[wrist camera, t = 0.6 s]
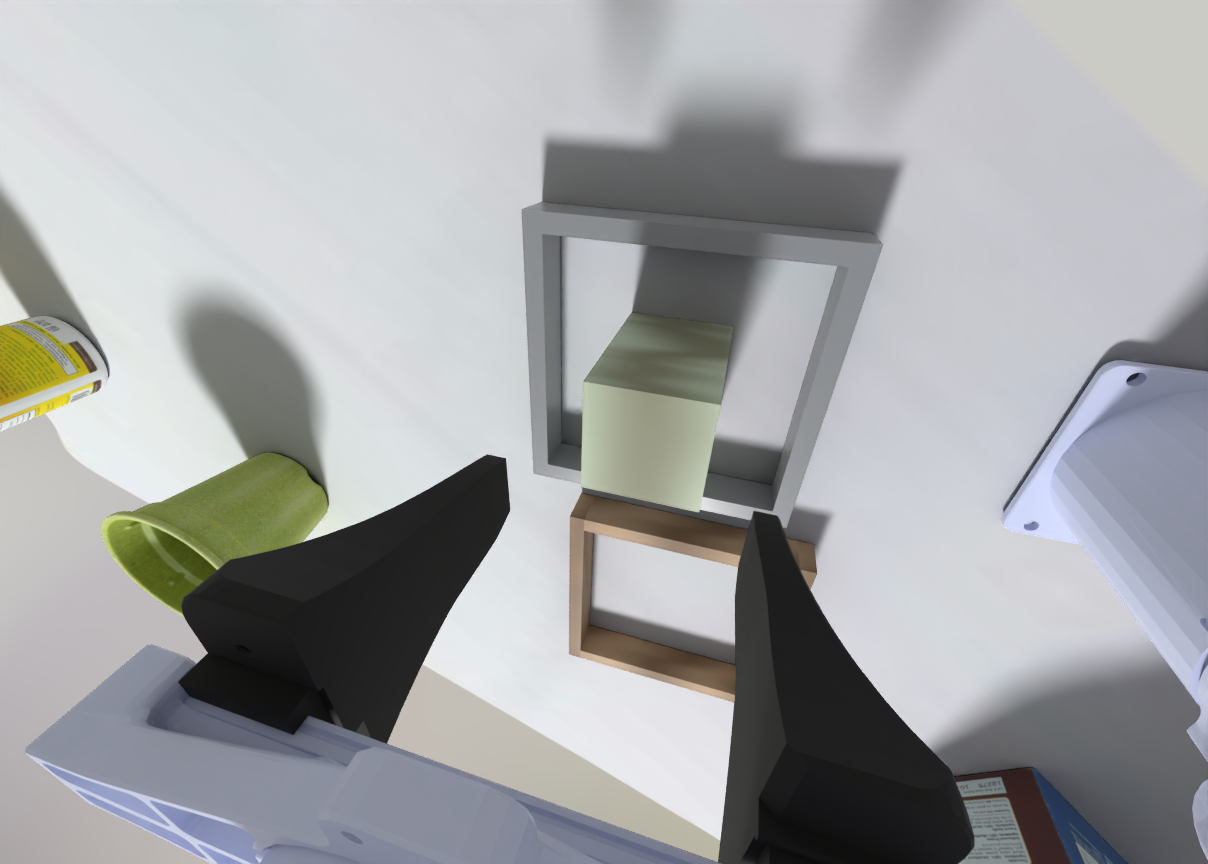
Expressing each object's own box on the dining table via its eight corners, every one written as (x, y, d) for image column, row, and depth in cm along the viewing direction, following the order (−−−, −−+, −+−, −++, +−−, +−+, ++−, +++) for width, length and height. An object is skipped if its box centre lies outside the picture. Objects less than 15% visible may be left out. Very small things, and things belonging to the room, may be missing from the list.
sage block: (733, 326, 21) (720, 405, 15) (716, 415, 23) (699, 512, 17) (632, 312, 21) (583, 381, 16) (625, 399, 24) (580, 486, 18)
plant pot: (345, 460, 32) (227, 556, 25) (355, 552, 37) (259, 652, 30) (222, 411, 33) (74, 490, 26) (249, 508, 38) (132, 595, 31)
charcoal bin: (872, 233, 17) (883, 244, 16) (785, 500, 24) (786, 528, 23) (541, 202, 20) (521, 209, 18) (547, 452, 27) (533, 473, 25)
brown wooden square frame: (813, 544, 25) (816, 573, 24) (760, 680, 32) (760, 709, 31) (581, 493, 28) (570, 516, 26) (578, 629, 35) (569, 654, 33)
